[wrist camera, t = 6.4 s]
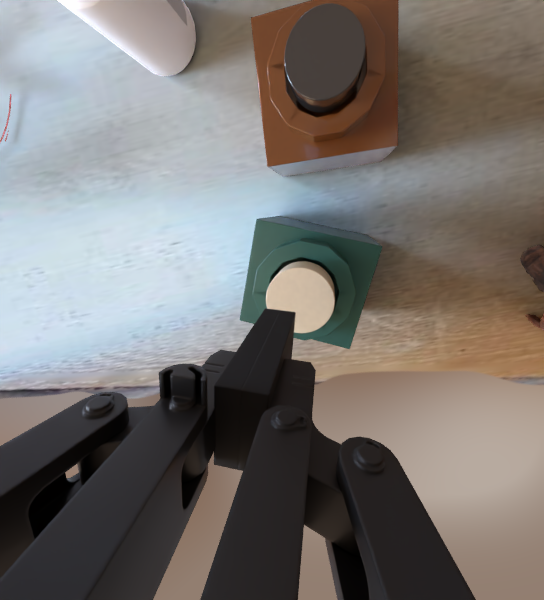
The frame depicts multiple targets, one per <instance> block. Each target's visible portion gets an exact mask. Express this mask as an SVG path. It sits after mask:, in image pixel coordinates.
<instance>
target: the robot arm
mask: <svg viewBox="0 0 544 600" xmlns="http://www.w3.org/2000/svg"><path fill="white" fill-rule="evenodd" d="M295 315H296V312H291V311H283V310H275V309H266V308H265V309H264V311H263V312H262V314H261V315H260V317H259V318H258V320H257V321H256V323H255V324H254V326H253V327H252V329H251V330H250V332H249V333H248V335H247V336H246V338H245V340H244V341H243V343H242V344H241V346H240V347H239V349H238V350H237V352H231V351H225V350H220V351H218V352H216V353H214V354H213V355H211V356H210V357H209V358H208V360H207V361H206V362H205V364H203V366H202V367H201V366H197V365H194V364H178V365H173V366H170V367H168V368H165V369H164V370H162V371H161V372H159V383H160V397H161V398H160V400H159V401H158V402H157V403H156V405H155V406H147V407H128V404H127V399H126V397H125V396H123V395H122V394H120V393H115V392H105V393H100V394H96V395H92V396H90V397H88V398H85V399H83V400H81V401H79V402H78V403H76V404H74V405H72V406H71V407H69V408H67V409H65V410H63V411H62V412H60V413H58V414H56V415H55V416H53V417H51V418H49V419H48V420H46V421H44V422H42V423H41V424H39V425H37V426H35V427H33V428H32V429H30V430H28V431H26V432H25V433H23V434H21V435H19V436H18V437H16V438H14V439H12V440H10V441H9V442H7V443H5V444H3V445H1V446H0V600H153V598H154V596H155V594H156V591H157V589H158V587H159V585H160V583H161V580H162V578H163V576H164V574H165V571H166V569H167V567H168V565H169V563H170V560H171V558H172V556H173V554H174V552H175V549H176V547H177V545H178V543H179V541H180V538H181V536H182V534H183V532H184V529H185V527H186V525H187V523H188V521H189V518H190V516H191V514H192V512H193V509H194V507H195V505H196V503H197V500H198V498H199V496H200V494H201V491H202V489H203V487H204V485H205V482H206V479H207V476H208V462H209V460H210V458H211V456H212V454H213V452H214V465H219V466H223V467H228V468H232V469H237V470H242V471H243V473H242V476H241V479H240V482H239V485H238V488H237V491H236V494H235V497H234V500H233V503H232V506H231V509H230V512H229V516H228V518H227V521H226V524H225V527H224V531H223V533H222V536H221V540H220V542H219V545H218V548H217V551H216V554H215V557H214V561H213V563H212V566H211V569H210V572H209V575H208V578H207V582H206V585H205V588H204V590H203V594H202V597H201V600H298V589H299V577H300V564H301V551H302V540H303V527H304V525H306V526H307V527H309V528H310V529H312V530H314V531H315V532H317V533H318V534H320V535H322V536H323V537H325V539H326V546H327V551H328V555H329V560H330V565H331V570H332V575H333V580H334V585H335V589H336V595H337V599H338V600H476V599H475V597H474V596H473V594H472V592H471V590H470V588H469V587H468V585H467V583H466V581H465V580H464V578H463V576H462V574H461V572H460V570H459V569H458V567H457V565H456V563H455V562H454V560H453V558H452V556H451V554H450V553H449V551H448V549H447V547H446V545H445V544H444V542H443V540H442V538H441V537H440V535H439V533H438V531H437V529H436V527H435V526H434V524H433V522H432V520H431V518H430V517H429V515H428V513H427V511H426V509H425V508H424V506H423V504H422V502H421V501H420V499H419V497H418V495H417V493H416V492H415V490H414V488H413V486H412V485H411V483H410V481H409V479H408V478H407V475H406V474H405V472H404V470H403V468H402V466H401V465H400V463H399V461H398V459H397V458H396V457H395V456H394V454H393V453H392V452H391V450H389V449H388V448H387V447H385V446H384V445H383V444H381V443H379V442H377V441H375V440H372V439H370V438H364V437H354V438H349V439H347V440H346V441H345V442H343V443H342V444H339V443H337V442H335V441H333V440H331V439H329V438H327V437H326V436H324V435H323V434H322V433H320V432H319V431H318V429H317V428H316V427H315V425H314V423H313V421H312V407H313V396H314V383H315V371H316V370H315V369H314V367H313V366H312V364H311V362H304V361H298V360H291V357H292V347H293V336H294V326H295ZM76 464H77V465H78V470H79V473H78V474H76V475H74V476H73V477H71V478H66V474H65V472H66V471H67V470H69V469H70V468H72V467H73V466H74V465H76Z"/></svg>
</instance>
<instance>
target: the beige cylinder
mask: <svg viewBox="0 0 544 600" xmlns="http://www.w3.org/2000/svg"><path fill="white" fill-rule="evenodd" d="M334 305H335V292H334V284H333V281H332V279H331V277H330V275H329V274H328V273H327V272H326V271H325V270H324V269H323V268H322V267H321V266H319V265H317V264H315V263H312V262H307V261H298V262H294V263H291V264H289V265H287V266H285V267H284V268H283V269H282V270H281V271H280V272H279V273H278V274H277V275H276V276H275V278H274V279H273V280H272V281H271V283H270V285H269V287H268V289H267V293H266V306H267V309H275V310H283V311H291V312H296V315H295V326H294V332H295V333H308V332H312V331H315V330H317V329H319V328H320V327H322V326H323V325H324V324H325V323H326V322H327V321H328V320H329V319H330V317H331V315H332V313H333V310H334Z"/></svg>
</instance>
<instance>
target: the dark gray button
mask: <svg viewBox="0 0 544 600" xmlns="http://www.w3.org/2000/svg"><path fill="white" fill-rule="evenodd" d="M365 49H366V42H365V35H364V30H363V27H362V25H361V23H360V21H359V19H358V18H357V16H356V15H355V14H354V13H353V12H352V11H351V10H349V9H348V8H346V7H344V6H342V5H339V4H334V3H326V4H321V5H318V6H315V7H314V8H312V9H310V10H309V11H307V12H306V13H305V14H304V15H302V16H301V17H300V19H299V20H298V21H297V22H296V24H295V25H294V27H293V28H292V30H291V32H290V34H289V37H288V39H287V43H286V47H285V54H284V64H285V70H286V74H287V77H288V80H289V83H290V86H291V89H292V92H293V94H294V96H295V98H296V100H297V101H298V102H299V103H300V104H301V105H302V106H303V107H304V108H306V109H307V110H309V111H312V112H316V113H326V112H330V111H333V110H335V109H337V108H339V107H341V106H342V105H343V104H344V103H345V102H347V101H348V99H349V98H350V97H351V96H352V94H353V93H354V91H355V89H356V87H357V85H358V83H359V80H360V76H361V71H362V66H363V62H364V57H365Z"/></svg>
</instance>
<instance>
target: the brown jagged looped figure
mask: <svg viewBox="0 0 544 600" xmlns="http://www.w3.org/2000/svg"><path fill="white" fill-rule="evenodd" d="M521 263H522V265H523V266H524V268H525V269H526V272H527V273H528V274H530V276H531V277H532V278H533V281H534V283H535V284H536V285H537V287H538V289H539V290H541V291H543V292H544V247H543V246H541V245H537V246H534V247H530V248H528V249H527V250H526V251H525V252H524V253H523V254H522V256H521ZM525 316H526V317H527V318H528V320H529V321H530V322H532V323H533V325H534V326H536V327H538V328H541V329H542V330H544V313H543V317H542V319H539V318H538V317H537V316H535V315H530V314H527V315H525Z"/></svg>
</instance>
